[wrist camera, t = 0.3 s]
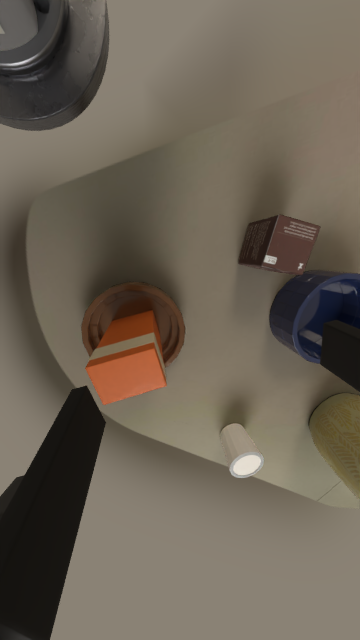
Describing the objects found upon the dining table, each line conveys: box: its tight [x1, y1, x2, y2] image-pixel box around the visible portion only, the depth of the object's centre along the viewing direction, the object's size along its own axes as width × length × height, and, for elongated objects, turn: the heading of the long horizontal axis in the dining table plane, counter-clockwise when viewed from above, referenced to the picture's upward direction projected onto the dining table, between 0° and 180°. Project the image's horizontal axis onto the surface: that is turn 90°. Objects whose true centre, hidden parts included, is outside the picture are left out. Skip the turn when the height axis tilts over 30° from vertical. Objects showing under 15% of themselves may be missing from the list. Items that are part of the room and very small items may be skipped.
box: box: [238, 215, 321, 275], centre depth 27 cm, size 6×6×7 cm
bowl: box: [81, 282, 185, 368], centre depth 30 cm, size 15×15×4 cm
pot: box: [270, 270, 360, 363], centre depth 32 cm, size 15×15×6 cm
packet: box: [85, 310, 167, 405], centre depth 24 cm, size 5×7×13 cm
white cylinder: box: [220, 423, 264, 478], centre depth 39 cm, size 7×7×7 cm
